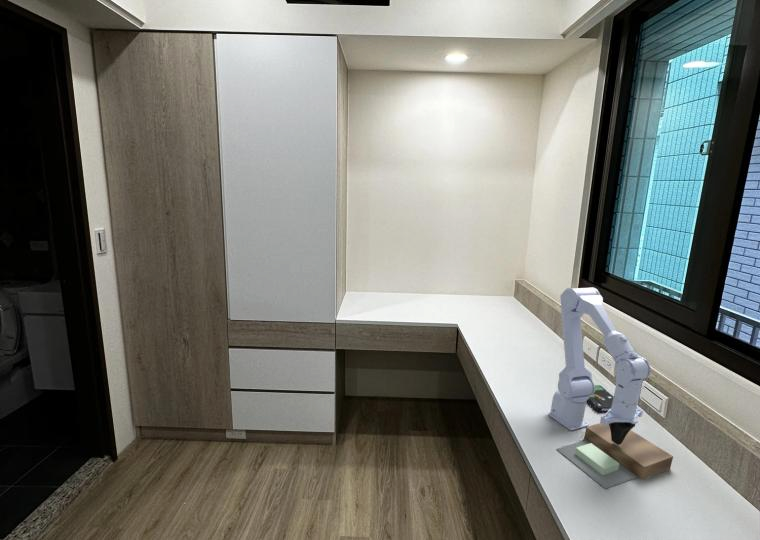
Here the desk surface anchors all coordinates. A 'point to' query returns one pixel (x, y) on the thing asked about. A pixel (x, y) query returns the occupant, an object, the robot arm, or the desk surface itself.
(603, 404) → the disk drive
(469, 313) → the desk surface
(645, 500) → the desk surface
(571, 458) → the mat
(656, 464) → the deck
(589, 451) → the pale green block
